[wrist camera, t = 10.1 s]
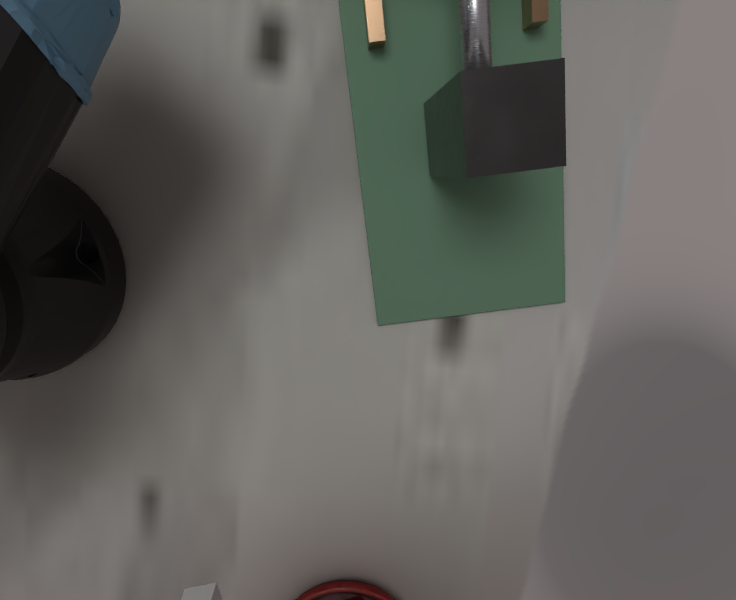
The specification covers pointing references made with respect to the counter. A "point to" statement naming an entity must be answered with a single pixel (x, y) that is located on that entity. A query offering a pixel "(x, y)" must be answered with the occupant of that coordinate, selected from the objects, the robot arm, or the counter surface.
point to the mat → (447, 194)
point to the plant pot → (345, 592)
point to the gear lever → (495, 109)
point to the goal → (532, 18)
